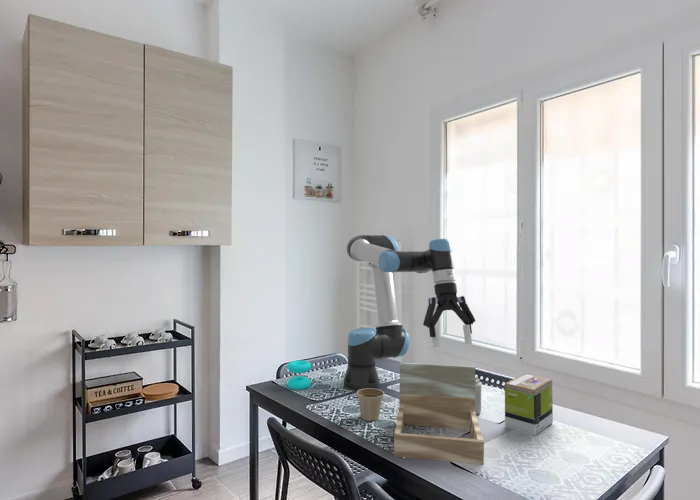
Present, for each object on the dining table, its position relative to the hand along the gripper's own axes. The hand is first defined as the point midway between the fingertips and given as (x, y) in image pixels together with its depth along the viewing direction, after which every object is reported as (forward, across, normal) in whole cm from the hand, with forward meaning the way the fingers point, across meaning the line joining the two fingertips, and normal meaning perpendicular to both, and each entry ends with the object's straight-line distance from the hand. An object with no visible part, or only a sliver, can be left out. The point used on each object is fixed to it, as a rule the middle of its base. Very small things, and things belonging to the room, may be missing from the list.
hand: (452, 345), depth 149 cm
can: (+24, +10, +9) cm, 27 cm away
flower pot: (+22, -24, +18) cm, 37 cm away
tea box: (+28, +20, -8) cm, 35 cm away
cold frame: (+27, -14, -5) cm, 31 cm away
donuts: (+12, -36, +58) cm, 69 cm away
